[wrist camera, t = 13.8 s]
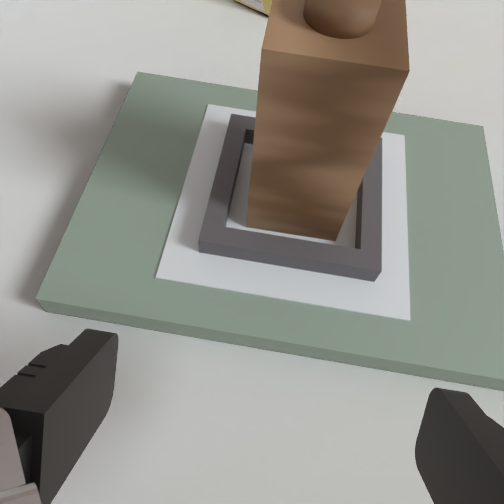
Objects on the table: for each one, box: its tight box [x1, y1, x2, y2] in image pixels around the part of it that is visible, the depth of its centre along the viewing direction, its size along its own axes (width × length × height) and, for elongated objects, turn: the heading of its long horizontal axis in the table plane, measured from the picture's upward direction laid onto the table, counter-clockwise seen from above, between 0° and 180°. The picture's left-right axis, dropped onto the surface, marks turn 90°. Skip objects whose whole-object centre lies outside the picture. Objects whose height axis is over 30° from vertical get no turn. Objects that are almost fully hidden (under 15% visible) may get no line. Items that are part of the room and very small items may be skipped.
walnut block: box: [246, 0, 409, 241], centre depth 19 cm, size 5×5×11 cm
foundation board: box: [35, 72, 504, 391], centre depth 23 cm, size 22×16×3 cm
